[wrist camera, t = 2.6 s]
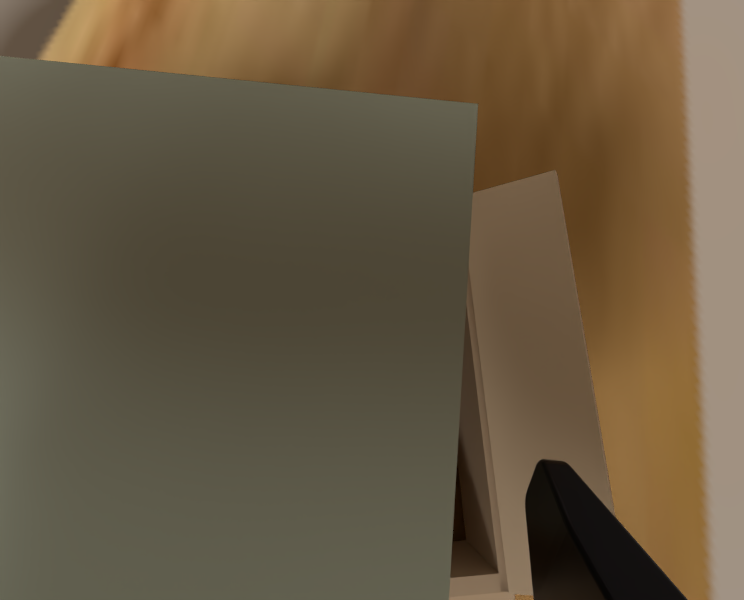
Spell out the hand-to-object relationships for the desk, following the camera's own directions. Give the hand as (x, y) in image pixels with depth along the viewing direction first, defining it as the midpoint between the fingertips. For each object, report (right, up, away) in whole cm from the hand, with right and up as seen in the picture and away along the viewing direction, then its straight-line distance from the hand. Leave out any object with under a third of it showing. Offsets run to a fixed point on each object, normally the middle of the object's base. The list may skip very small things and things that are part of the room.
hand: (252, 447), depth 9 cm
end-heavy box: (0, -1, +9) cm, 9 cm away
